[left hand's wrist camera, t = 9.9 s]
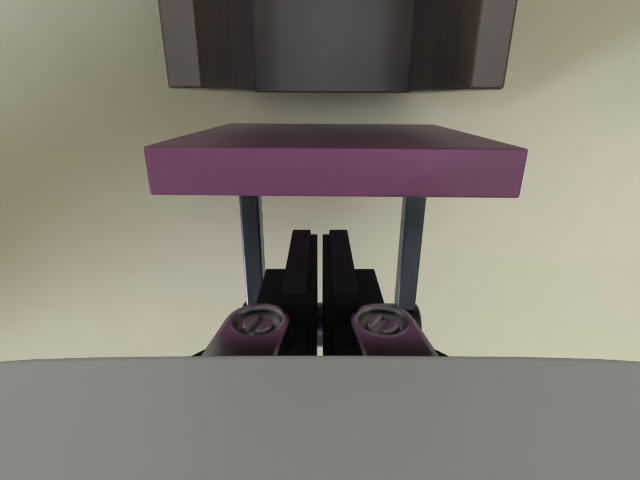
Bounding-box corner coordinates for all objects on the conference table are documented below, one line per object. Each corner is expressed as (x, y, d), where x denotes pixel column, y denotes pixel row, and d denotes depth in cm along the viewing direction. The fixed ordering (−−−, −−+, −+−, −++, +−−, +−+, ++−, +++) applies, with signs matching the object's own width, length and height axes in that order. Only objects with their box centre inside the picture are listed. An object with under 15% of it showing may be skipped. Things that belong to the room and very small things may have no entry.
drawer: (419, 270, 20) (483, 391, 12) (239, 268, 20) (179, 385, 12) (476, -279, 13) (735, -937, 5) (198, -276, 13) (-20, -908, 5)
